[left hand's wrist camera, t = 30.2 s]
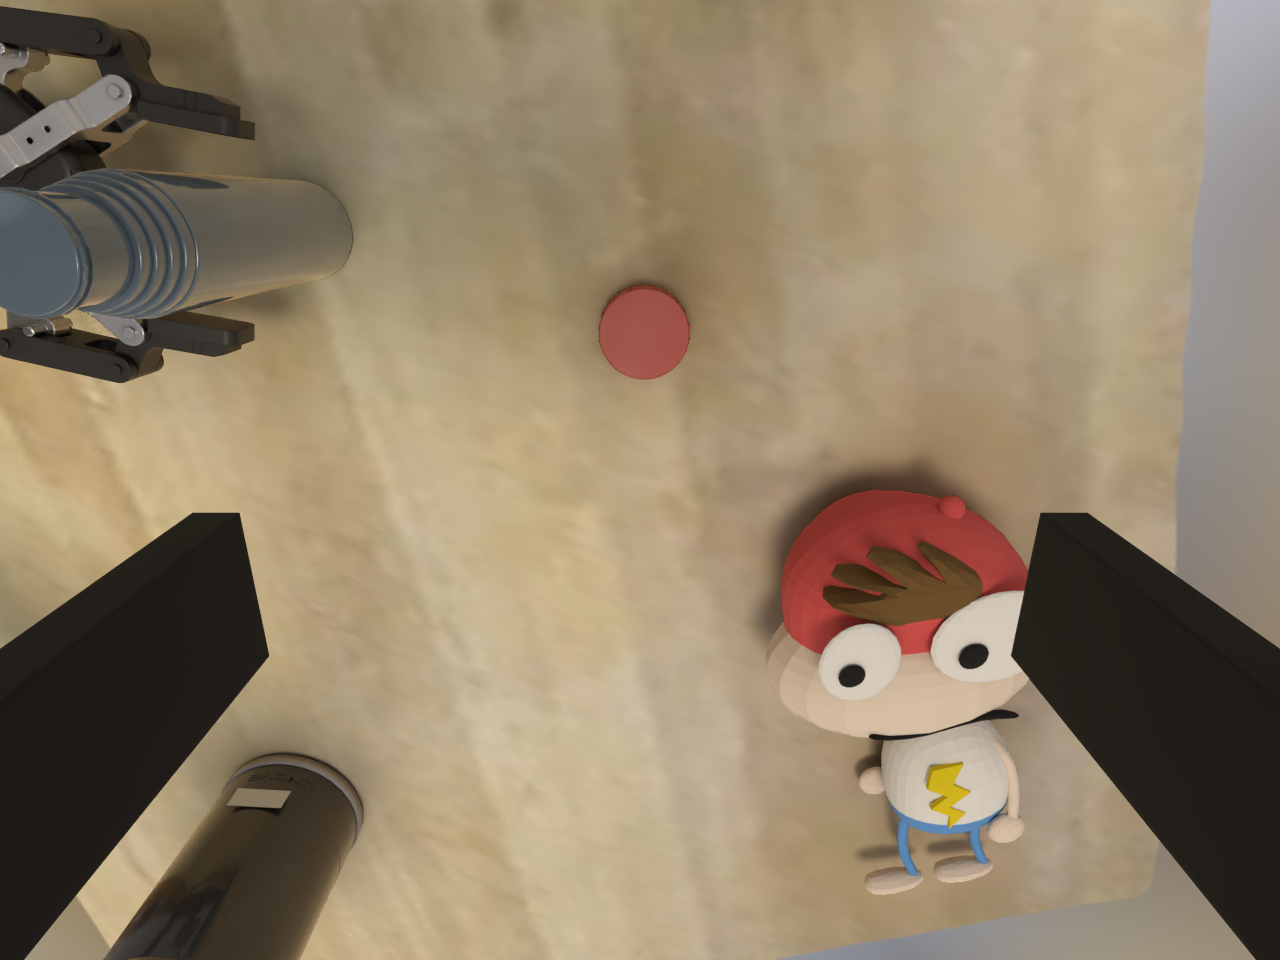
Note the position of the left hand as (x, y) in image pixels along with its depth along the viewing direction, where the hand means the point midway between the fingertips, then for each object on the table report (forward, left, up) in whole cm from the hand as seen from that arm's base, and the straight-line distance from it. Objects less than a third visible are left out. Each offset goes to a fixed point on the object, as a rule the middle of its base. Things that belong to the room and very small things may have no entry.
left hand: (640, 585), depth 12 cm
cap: (0, 0, -28) cm, 28 cm away
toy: (+15, -24, -29) cm, 41 cm away
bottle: (-17, +6, -29) cm, 34 cm away
